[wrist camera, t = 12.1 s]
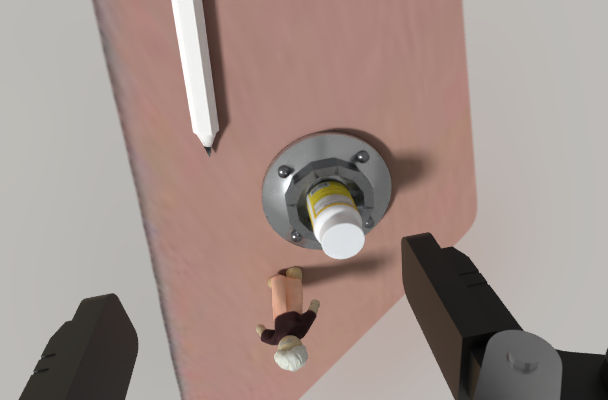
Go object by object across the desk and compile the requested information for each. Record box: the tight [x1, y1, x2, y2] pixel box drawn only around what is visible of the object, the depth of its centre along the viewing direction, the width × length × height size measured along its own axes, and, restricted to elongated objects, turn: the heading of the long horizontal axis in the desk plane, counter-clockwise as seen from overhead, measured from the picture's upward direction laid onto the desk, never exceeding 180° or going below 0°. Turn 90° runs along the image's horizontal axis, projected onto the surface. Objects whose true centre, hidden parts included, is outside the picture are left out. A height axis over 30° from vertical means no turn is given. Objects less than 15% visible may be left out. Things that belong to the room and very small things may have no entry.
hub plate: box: [262, 131, 392, 250], centre depth 44 cm, size 14×14×3 cm
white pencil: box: [171, 0, 219, 157], centre depth 37 cm, size 3×2×16 cm
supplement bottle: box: [306, 178, 365, 259], centre depth 41 cm, size 5×5×8 cm
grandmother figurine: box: [256, 267, 320, 371], centre depth 46 cm, size 8×4×13 cm, turn 126°
